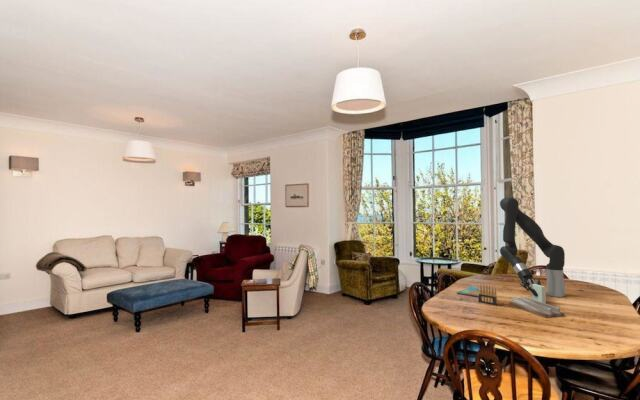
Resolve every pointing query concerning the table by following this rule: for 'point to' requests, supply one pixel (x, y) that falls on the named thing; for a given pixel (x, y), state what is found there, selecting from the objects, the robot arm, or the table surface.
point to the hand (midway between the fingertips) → (539, 295)
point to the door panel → (539, 293)
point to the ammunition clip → (487, 294)
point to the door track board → (536, 307)
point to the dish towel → (470, 292)
